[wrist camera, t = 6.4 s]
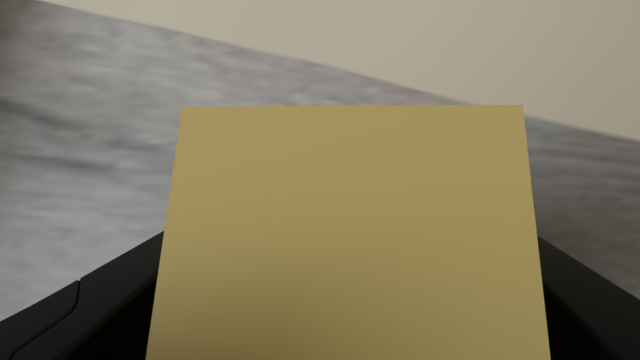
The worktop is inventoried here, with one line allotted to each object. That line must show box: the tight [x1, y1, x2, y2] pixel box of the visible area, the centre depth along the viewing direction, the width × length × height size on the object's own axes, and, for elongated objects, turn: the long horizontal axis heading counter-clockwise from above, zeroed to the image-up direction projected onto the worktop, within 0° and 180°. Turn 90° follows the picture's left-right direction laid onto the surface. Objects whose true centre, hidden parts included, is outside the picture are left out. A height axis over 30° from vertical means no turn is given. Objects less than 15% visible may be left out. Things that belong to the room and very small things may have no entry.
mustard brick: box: [145, 105, 551, 360], centre depth 10 cm, size 4×4×12 cm
